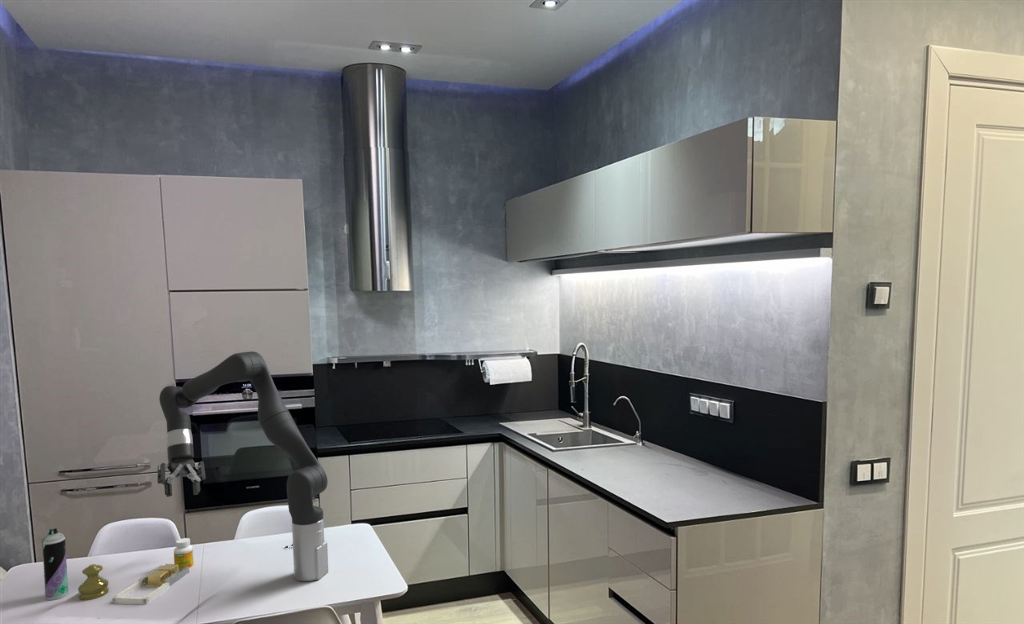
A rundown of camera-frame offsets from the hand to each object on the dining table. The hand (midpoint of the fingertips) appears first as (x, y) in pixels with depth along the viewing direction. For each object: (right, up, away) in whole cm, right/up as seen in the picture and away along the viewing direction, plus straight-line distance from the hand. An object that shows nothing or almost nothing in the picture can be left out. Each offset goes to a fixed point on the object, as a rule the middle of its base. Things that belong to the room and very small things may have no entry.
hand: (183, 495), depth 207 cm
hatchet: (+31, -22, +24) cm, 45 cm away
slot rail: (0, -24, -10) cm, 26 cm away
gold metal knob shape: (-16, -25, -19) cm, 35 cm away
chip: (0, -22, -9) cm, 24 cm away
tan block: (-1, -23, -13) cm, 26 cm away
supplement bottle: (+1, -24, -1) cm, 24 cm away
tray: (-2, -24, -20) cm, 32 cm away
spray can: (-29, -25, -16) cm, 42 cm away
